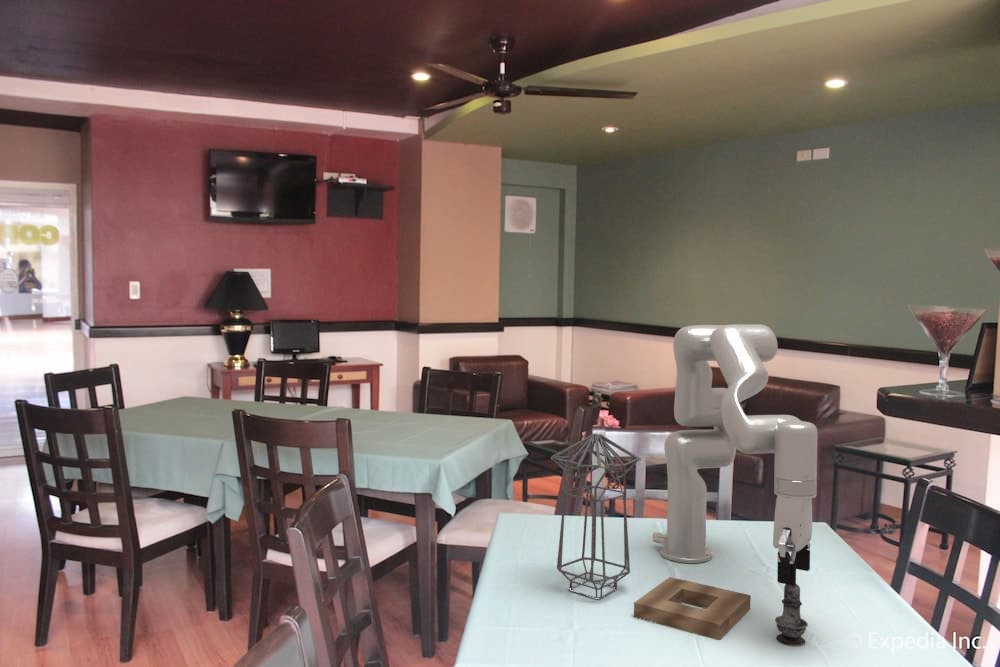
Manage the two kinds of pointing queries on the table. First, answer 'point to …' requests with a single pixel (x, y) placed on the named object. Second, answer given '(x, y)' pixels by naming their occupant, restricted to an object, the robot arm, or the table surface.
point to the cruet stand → (710, 622)
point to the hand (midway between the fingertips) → (793, 576)
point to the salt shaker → (791, 618)
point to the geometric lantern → (558, 459)
